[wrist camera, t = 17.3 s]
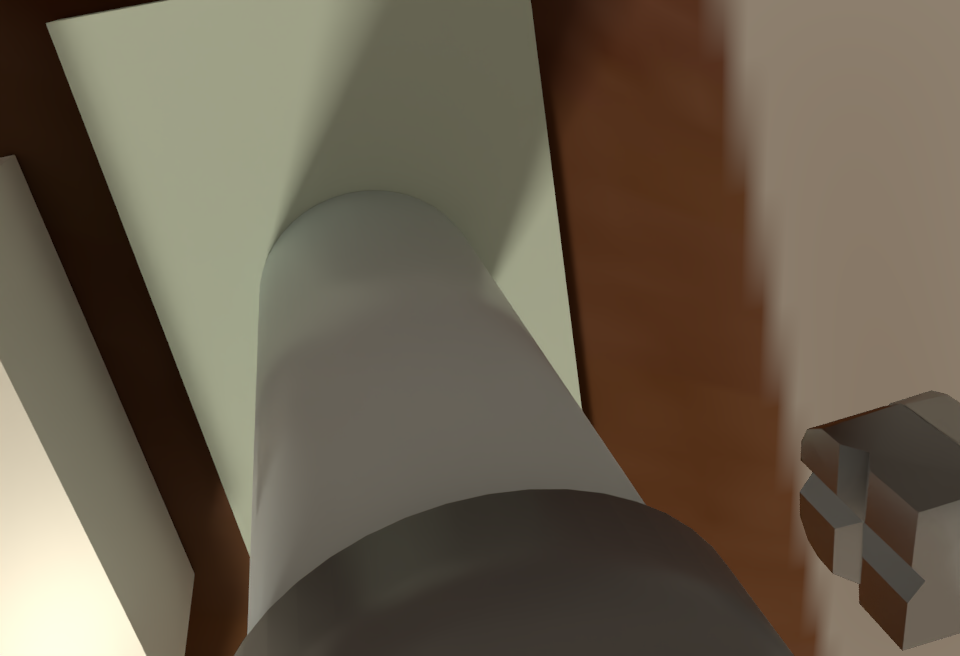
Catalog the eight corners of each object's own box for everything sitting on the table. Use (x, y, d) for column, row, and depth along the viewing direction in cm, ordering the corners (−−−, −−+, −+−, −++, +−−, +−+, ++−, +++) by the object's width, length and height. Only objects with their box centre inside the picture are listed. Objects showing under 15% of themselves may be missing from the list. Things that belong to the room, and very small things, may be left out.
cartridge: (207, 208, 15) (45, 879, 4) (472, 148, 15) (920, 593, 5) (282, 433, 17) (302, 1241, 6) (510, 373, 18) (872, 1011, 7)
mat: (57, 19, 14) (46, 23, 13) (510, -66, 15) (522, -66, 14) (259, 555, 19) (258, 578, 18) (580, 464, 20) (591, 483, 19)
